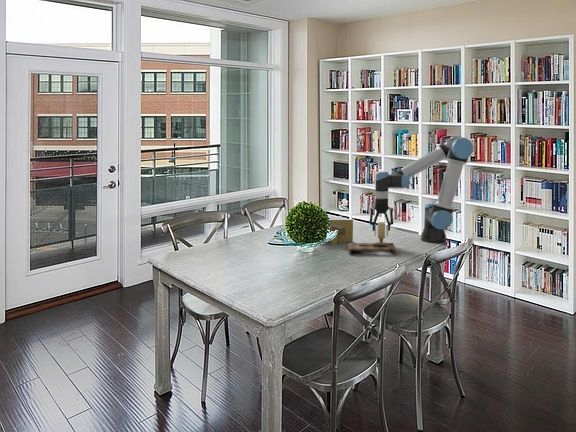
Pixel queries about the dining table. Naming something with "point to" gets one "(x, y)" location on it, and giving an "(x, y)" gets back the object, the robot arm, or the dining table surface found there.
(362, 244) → the keyhole plate
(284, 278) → the dining table surface
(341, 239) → the cardboard box
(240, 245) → the dining table surface
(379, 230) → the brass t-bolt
